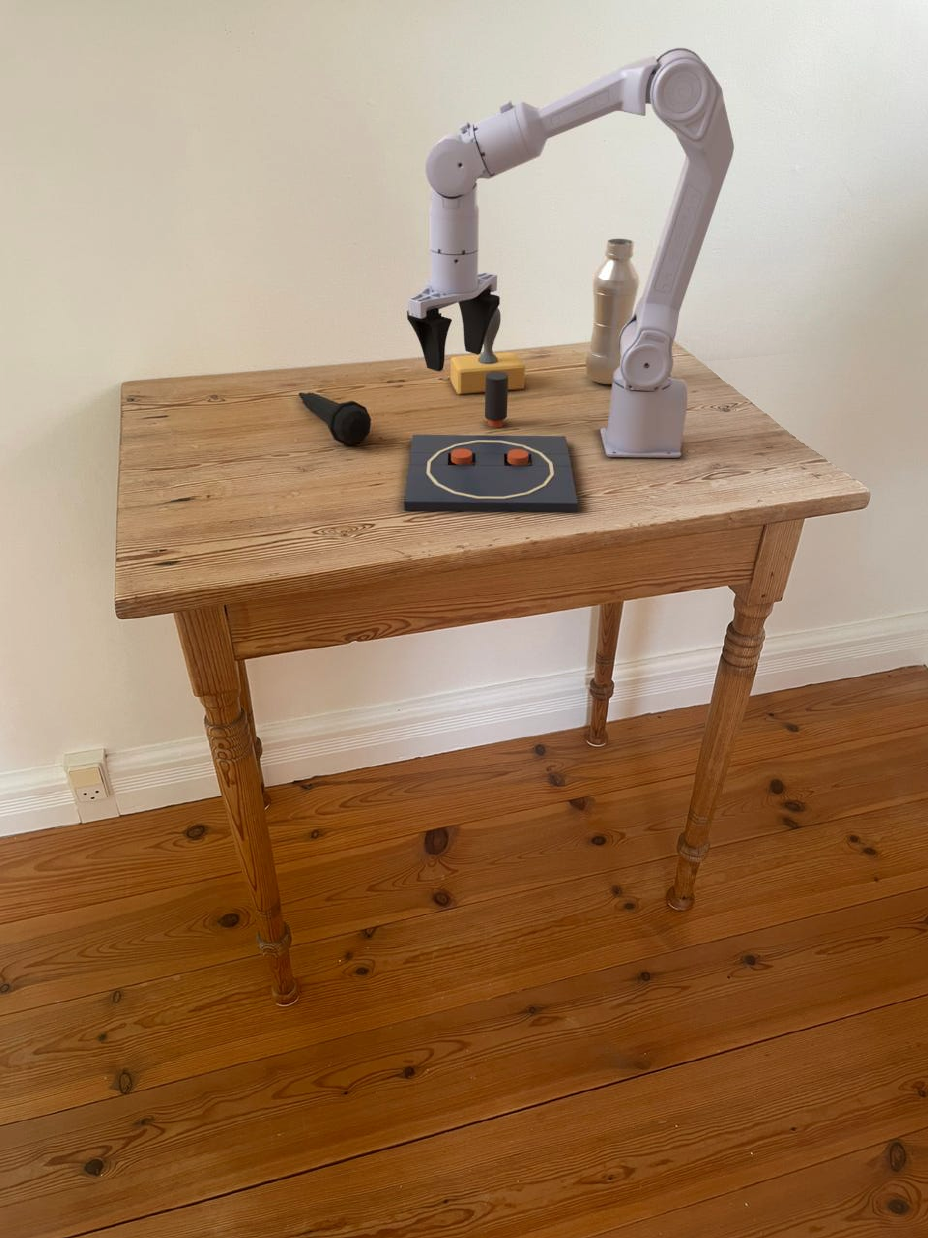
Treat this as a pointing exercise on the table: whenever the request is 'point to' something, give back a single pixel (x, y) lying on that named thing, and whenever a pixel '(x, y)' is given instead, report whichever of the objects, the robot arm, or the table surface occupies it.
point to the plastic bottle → (611, 308)
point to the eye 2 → (518, 457)
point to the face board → (490, 475)
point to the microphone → (340, 417)
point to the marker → (496, 398)
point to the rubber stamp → (486, 365)
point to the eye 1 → (461, 456)
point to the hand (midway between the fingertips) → (454, 360)
